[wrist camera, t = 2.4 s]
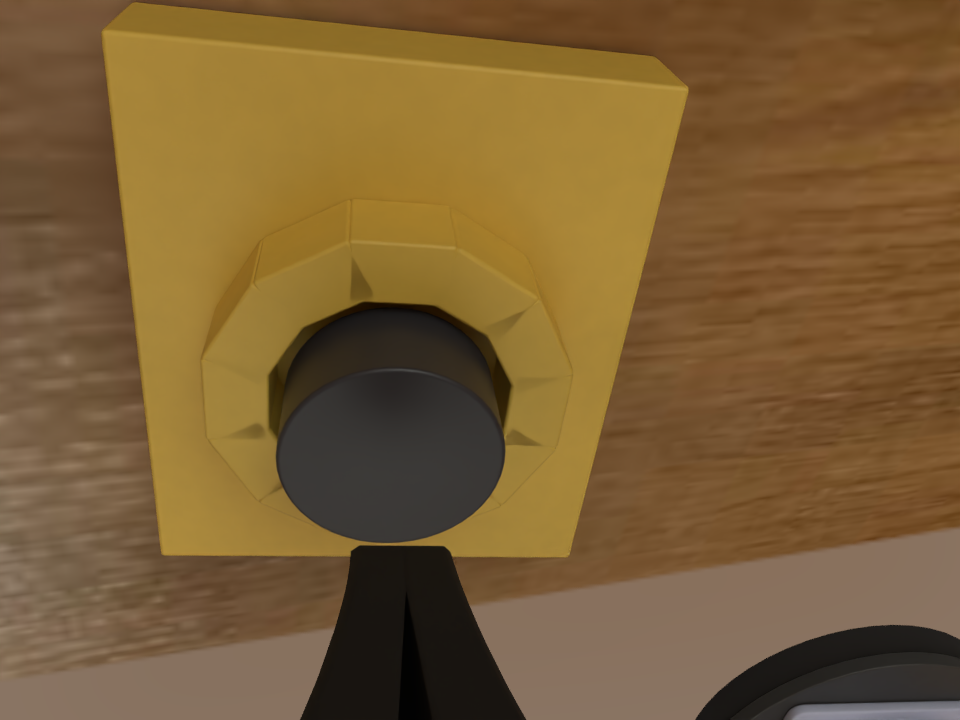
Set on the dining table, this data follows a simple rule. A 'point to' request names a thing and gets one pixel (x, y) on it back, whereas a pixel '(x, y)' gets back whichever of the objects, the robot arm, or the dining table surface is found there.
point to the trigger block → (375, 245)
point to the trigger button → (389, 427)
